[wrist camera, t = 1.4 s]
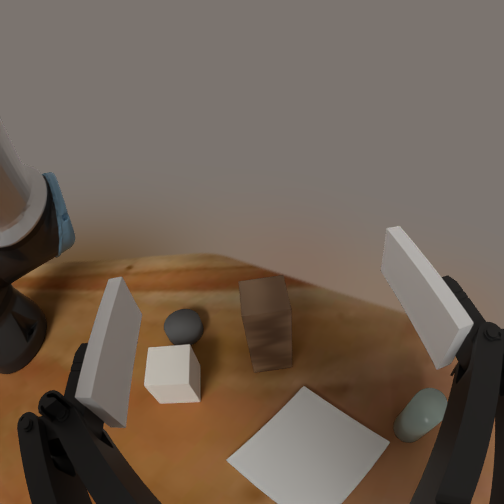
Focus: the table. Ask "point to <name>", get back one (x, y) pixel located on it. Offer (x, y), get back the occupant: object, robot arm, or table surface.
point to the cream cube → (173, 374)
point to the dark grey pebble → (183, 327)
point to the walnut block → (267, 322)
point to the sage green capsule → (420, 415)
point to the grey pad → (309, 453)
